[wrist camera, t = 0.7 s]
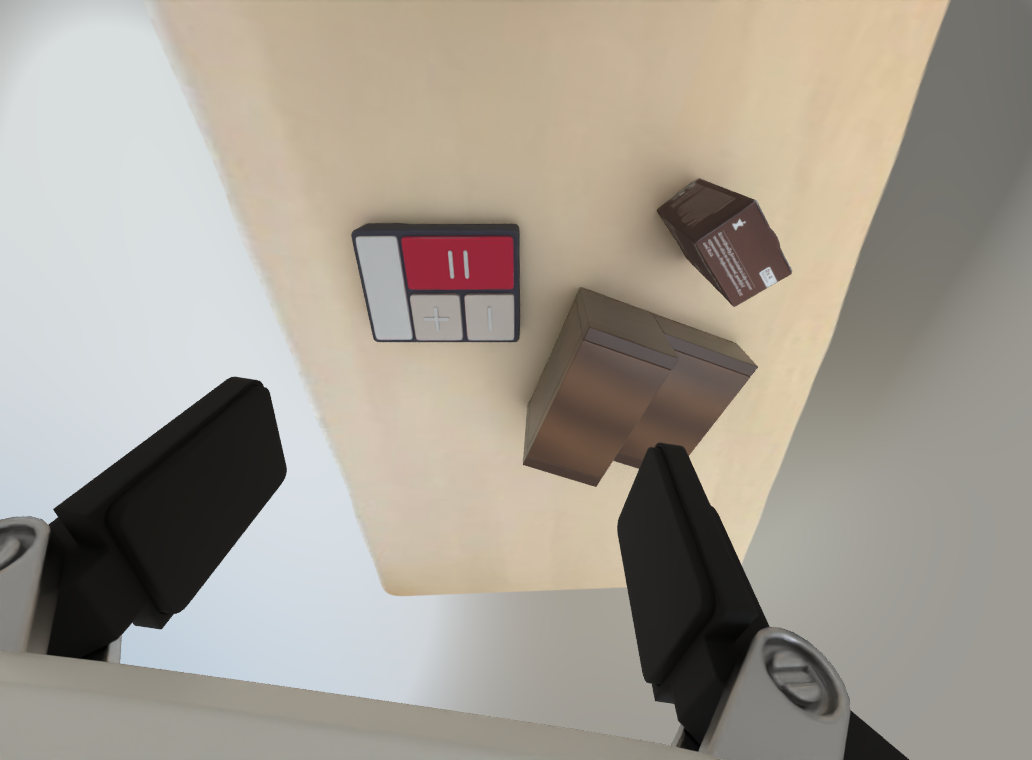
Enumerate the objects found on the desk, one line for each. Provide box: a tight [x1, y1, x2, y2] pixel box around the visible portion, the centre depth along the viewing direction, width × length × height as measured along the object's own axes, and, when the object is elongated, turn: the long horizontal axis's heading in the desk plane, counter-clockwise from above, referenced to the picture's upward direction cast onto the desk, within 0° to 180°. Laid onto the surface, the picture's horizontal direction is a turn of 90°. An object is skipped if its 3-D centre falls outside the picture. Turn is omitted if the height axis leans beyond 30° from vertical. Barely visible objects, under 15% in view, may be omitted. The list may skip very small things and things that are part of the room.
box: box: [657, 178, 792, 307], centre depth 31 cm, size 6×4×12 cm
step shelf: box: [523, 287, 758, 487], centre depth 41 cm, size 16×18×10 cm
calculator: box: [351, 223, 520, 342], centre depth 39 cm, size 11×4×15 cm
